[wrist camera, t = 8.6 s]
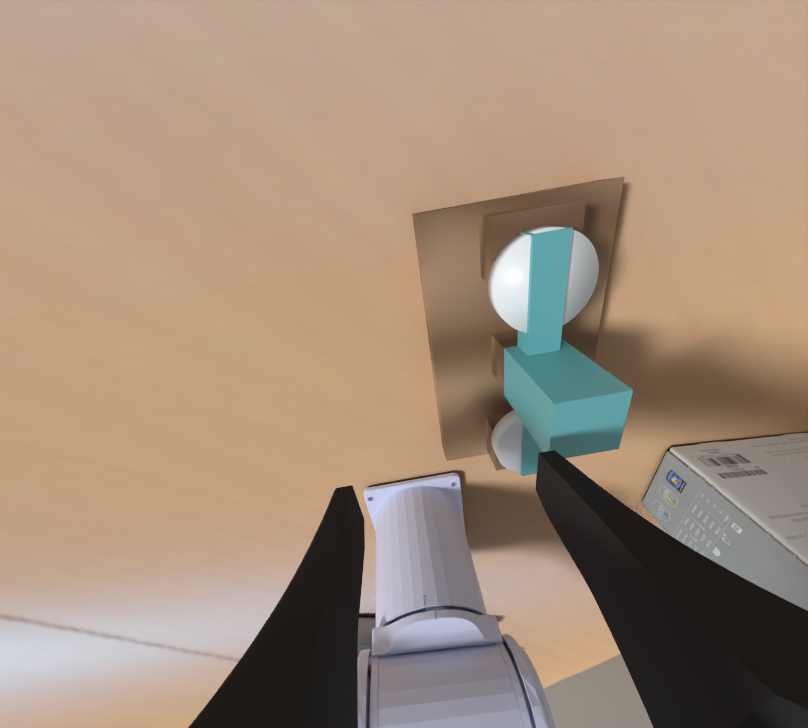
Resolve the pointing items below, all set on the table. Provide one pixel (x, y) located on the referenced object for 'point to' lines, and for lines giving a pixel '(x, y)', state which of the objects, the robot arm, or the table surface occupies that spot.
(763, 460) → the hard drive box
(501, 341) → the display stand
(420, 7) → the table surface
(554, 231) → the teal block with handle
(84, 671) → the table surface
